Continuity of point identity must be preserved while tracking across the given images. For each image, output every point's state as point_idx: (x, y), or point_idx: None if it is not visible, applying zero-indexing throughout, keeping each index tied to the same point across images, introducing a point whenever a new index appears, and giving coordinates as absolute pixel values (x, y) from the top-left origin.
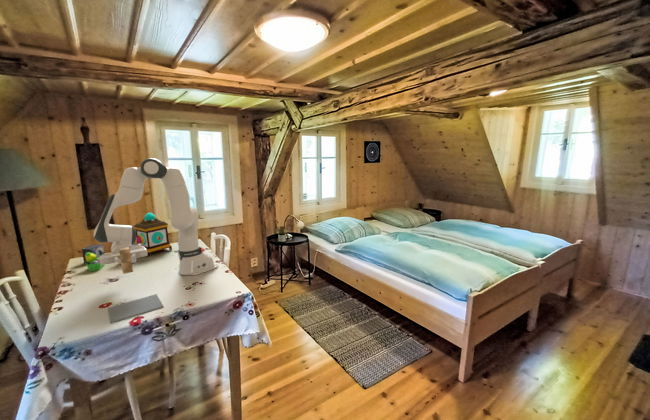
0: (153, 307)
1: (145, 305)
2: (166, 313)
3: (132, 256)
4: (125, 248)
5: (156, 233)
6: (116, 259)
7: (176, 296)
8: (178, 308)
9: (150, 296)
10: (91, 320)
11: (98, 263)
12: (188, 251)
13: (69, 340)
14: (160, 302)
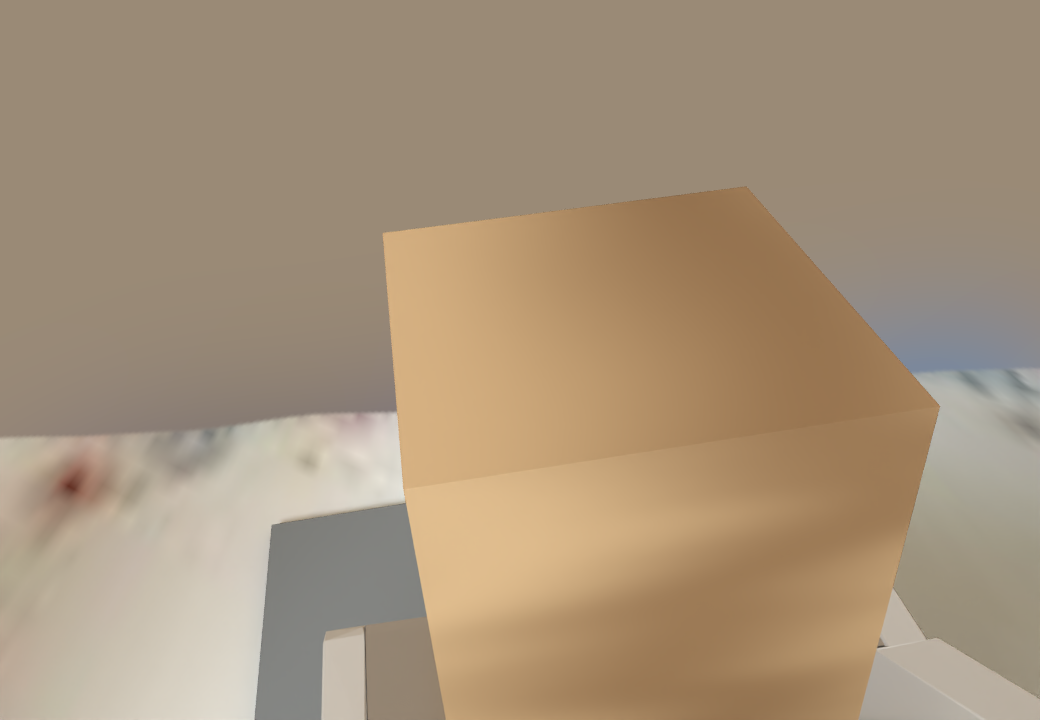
0: (357, 536)
1: (422, 612)
2: (288, 435)
3: (371, 626)
4: (552, 330)
5: None
6: (941, 662)
7: (67, 709)
8: (181, 465)
9: None
10: (926, 587)
11: None
12: None
13: (932, 383)
14: (273, 607)
